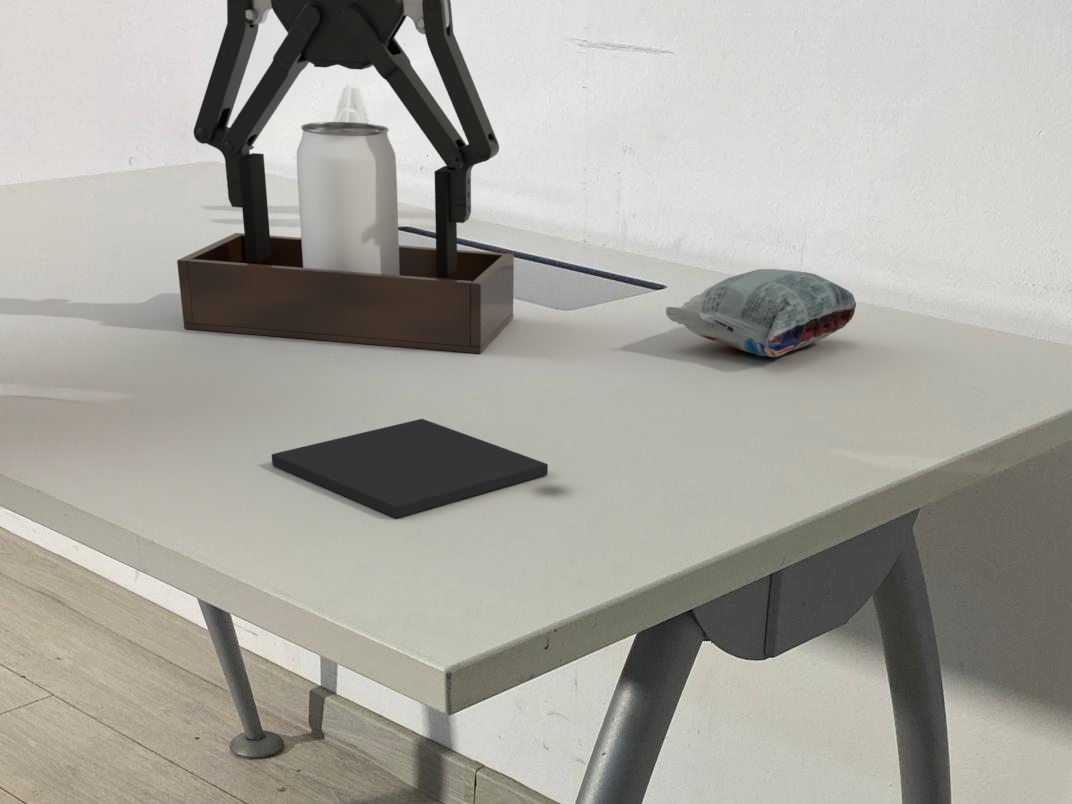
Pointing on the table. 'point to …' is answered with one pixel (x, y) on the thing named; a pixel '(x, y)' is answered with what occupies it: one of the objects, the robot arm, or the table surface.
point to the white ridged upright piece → (351, 106)
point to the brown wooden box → (348, 297)
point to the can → (348, 198)
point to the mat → (409, 466)
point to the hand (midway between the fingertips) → (352, 266)
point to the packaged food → (767, 311)
